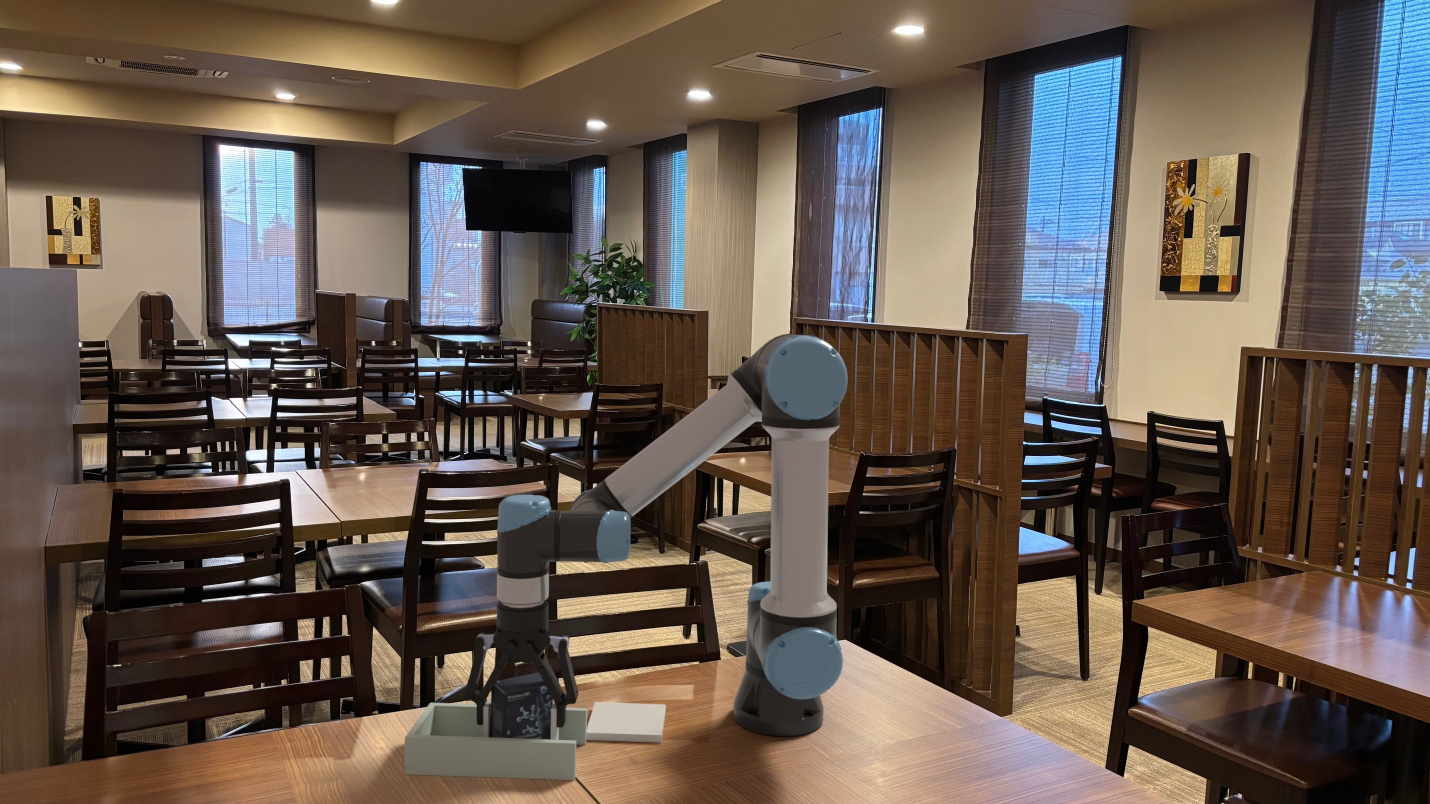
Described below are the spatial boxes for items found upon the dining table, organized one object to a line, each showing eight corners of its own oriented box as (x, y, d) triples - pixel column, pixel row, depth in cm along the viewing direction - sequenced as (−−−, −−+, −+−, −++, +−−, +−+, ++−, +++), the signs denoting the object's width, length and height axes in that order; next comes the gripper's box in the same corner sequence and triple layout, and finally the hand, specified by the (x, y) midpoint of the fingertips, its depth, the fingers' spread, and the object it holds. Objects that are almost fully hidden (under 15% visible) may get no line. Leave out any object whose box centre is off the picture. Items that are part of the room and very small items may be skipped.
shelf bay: (586, 741, 155) (587, 708, 154) (574, 780, 142) (575, 743, 142) (430, 736, 155) (430, 702, 154) (404, 774, 142) (404, 737, 142)
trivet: (665, 711, 167) (665, 704, 167) (661, 742, 155) (661, 735, 155) (594, 708, 167) (595, 701, 167) (585, 739, 155) (585, 732, 155)
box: (503, 763, 144) (504, 693, 143) (489, 748, 149) (489, 680, 148) (553, 751, 148) (554, 683, 147) (538, 736, 153) (538, 670, 152)
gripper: (600, 595, 150) (597, 737, 152) (455, 590, 150) (454, 732, 152) (593, 610, 142) (591, 759, 145) (441, 605, 142) (440, 754, 145)
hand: (521, 745), depth 148 cm, fingers closed on box, 9 cm apart
